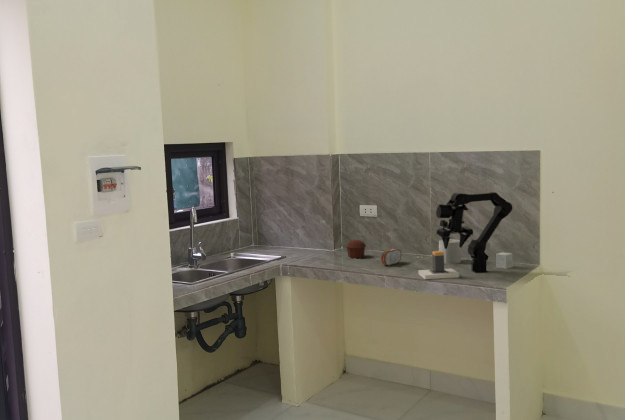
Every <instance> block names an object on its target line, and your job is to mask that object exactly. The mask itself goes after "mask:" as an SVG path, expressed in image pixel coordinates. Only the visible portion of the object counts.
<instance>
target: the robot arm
mask: <svg viewBox="0 0 625 420" xmlns="http://www.w3.org/2000/svg"><path fill="white" fill-rule="evenodd" d="M483 201H484V202H486V201H487V202H488V201H490V202H491V204H492V205H493V206H494V209H493V213H492V214H493V215H492V216H491V217H490V219H489V221H488V223H486V226H485V227H484V229H483V230H482V231H481V233H480V234H479V236H478V238H477V239H471V241H470V242H469V244H468V245H467V254H468V255H469V256H470V257H471V259H472V261H471V263H470V264H471V265H470V266H471V272H474V273H475V274H476V273H488V270H487V261H488V260H489V255H488V254H487V252H486V249H487V243H488V241H489V240H490V238H491V237H492V235H493V234H494V232H496V229H497V227H498V226H499V225H500V223H501V221H502V220H503V219H505V218H506V217H507V216H509V214H511V212H512V211H513V204H512V203H511V202H509V201H508V200H505V199H504V198H503V197H502V196H500V195H499V194H498V192H494V191H489V192H481V193H479V192H477V193H463V192H454V193H452V195H451V197H450V199H449V200H448V202H447V203H445V204H441V203H439V204H438V206H437V208H436V211H435V214H436V218H437V219H441V220H440V221H439V227H441V228H438V229H437V230H436V235H438V236H439V237H441V240H443V243H444V248H445V249H447V247H448V243H449V240H450V239H451V237H450V235H453V234H459V240H460V243H459V247H460V248H461V249H462V247H463V246H464V244H465V243H466V241H468V239H469V238H470V237H471V236H473V235H474V229H473V228H471V227H469V226H463V224H464V223H465V221H464V220H463V219H464V212H465V211H469V208H468V207H467V206H466V205H467V204H469V203H474V202H483ZM446 219H448V221H446Z"/></svg>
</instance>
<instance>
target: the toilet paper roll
mask: <svg viewBox="0 0 625 420" xmlns="http://www.w3.org/2000/svg"><path fill="white" fill-rule="evenodd" d="M459 243H460V239H456V238H455V239H454V238H453V239H452V238H450V240H449V243H448V247H447V249H445V248H444V243H443V240H442V239H440V240H438V251H442V252H444V265H457V264H461V263H462V247H461V248H460V247H459Z"/></svg>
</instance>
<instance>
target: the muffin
mask: <svg viewBox="0 0 625 420" xmlns="http://www.w3.org/2000/svg"><path fill="white" fill-rule="evenodd" d="M345 246H346V251H347V257H348V258H349V257H350V258H349V259H354V258H356V259H363V258H364V256H365V250H366V247H367V245H366V243H365V242H364V241H362V240H361V239H352V240H350V241H348V242H347V244H346V245H345ZM362 257H363V258H362Z"/></svg>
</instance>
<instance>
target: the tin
mask: <svg viewBox="0 0 625 420" xmlns="http://www.w3.org/2000/svg"><path fill="white" fill-rule="evenodd" d="M401 260H402V250H400V249H399V248H396V247H395V248H389V249H385V250H384V251H382V254H381V260H380V261H381V263H382V264H383V266H388V265H389V266H393V265H397V264H399V263H400V262H401Z"/></svg>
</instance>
